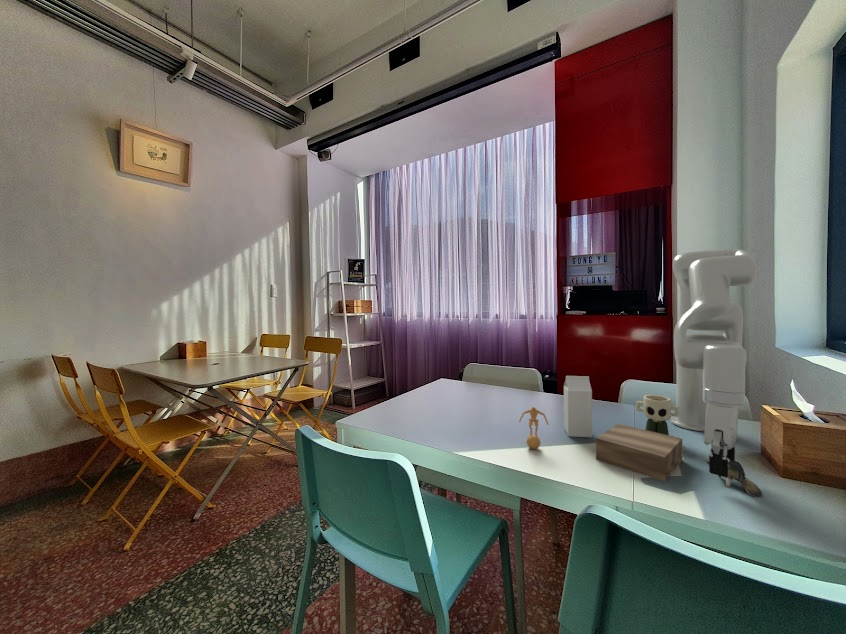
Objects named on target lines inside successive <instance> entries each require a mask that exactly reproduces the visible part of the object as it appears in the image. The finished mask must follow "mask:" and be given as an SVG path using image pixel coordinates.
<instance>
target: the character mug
mask: <svg viewBox="0 0 846 634" xmlns="http://www.w3.org/2000/svg"><path fill="white" fill-rule="evenodd" d="M641 405H643V408H641ZM672 409H674V412H672ZM636 411H637V412H643V415H644V416H645V417H646V418H648V419H647V420H646V423H645V429H644V430H647V431H652V432H656V433H660V434H665V435H669V436H670V434H669V426H668V422H667V421H670V420H671V418H672V417H674V416H676V417H677V416H678V415H679V407H678V406H676V405H674V404H672V399H671V398H670V397H667V396H663V395H658V394H647V395H646V394H645V395H644V396H643V400H642V401H641V400H637V401H636Z"/></svg>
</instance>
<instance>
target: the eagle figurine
mask: <svg viewBox="0 0 846 634" xmlns="http://www.w3.org/2000/svg"><path fill="white" fill-rule="evenodd" d="M726 459H727V460H728V477H724V478H725V485H724V487H726V488H727V487H729V486H731V484H732V481H733V480H734V481H736V482H738V483H740V485H741V486H742V487H743V488H744V489H745V492H746V493H747V494H748V495H749V496H752V497H755V498H757V499H760V498H762V497H763V494H762V493H763V492H762V490H761V489H760V488H759V487H758V485H756V484H755V483H754V482H753V481H752V480H751V479H750V478H748V477H747V476H746V474H745V473H746V472H745V470H744V467H743V466H742V464H741V463H740V462H739V461H738V460H737V461H736V460H735V461H734V460H731V461H730V460H729V459H728V458H726ZM704 461H705V463H706V464H707V465H708V466H709V460H707V459H704ZM717 476H718V478H722V476H719V475H717Z"/></svg>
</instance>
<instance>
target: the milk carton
mask: <svg viewBox="0 0 846 634" xmlns="http://www.w3.org/2000/svg"><path fill="white" fill-rule="evenodd" d="M563 429H564V431H565V433H566V434H567V437H575V438H576V437H577V438H578V437H579V438H592V436H593V390H592V386H591V383H590V376H588V375H587V376H584V375H583V376H580V375H579V376H578V375H566V376H565V381H564V383H563Z"/></svg>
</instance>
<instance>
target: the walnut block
mask: <svg viewBox="0 0 846 634" xmlns="http://www.w3.org/2000/svg"><path fill="white" fill-rule="evenodd" d="M595 460H597V461H599V462H603V463H606V464H609V465H612V466H616V467H618V468H621V469H624V470H627V471H630V472H634V473H636V474H640V475H643V476H646V477H650V478H652V479H656V480H659V481H661V482H666V481H667V480H668V478H670V476H671V475H672V474H673V472H674V471H675V470H676V469H677V468H678V466H679V465H680V464H681V462H682V461H683V438H680V437H679V436H678V437H677V436H672V435H670V434H669V435H665V434H660V433H656V432H652V431H647V430H645V429H642V428H638V427H635V426H631V425H625V424H621V423H617V424H615V425H614V426H612V427H610V428H609V429H608V430H606V431H605V432H603V433H601V434H600V435H598V436H596V437H595Z"/></svg>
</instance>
